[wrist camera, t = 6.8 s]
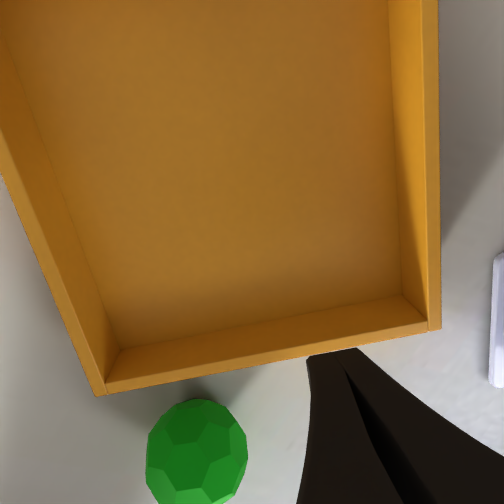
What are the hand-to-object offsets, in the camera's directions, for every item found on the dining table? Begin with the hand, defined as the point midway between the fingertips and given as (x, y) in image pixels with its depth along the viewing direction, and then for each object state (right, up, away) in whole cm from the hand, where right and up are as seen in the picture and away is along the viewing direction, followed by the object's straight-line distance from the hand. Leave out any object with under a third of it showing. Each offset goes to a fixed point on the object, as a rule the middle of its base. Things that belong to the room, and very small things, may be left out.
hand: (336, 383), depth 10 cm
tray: (-3, +7, +6) cm, 10 cm away
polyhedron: (-5, -6, +11) cm, 13 cm away
